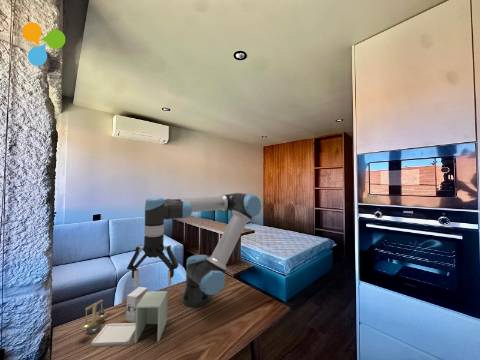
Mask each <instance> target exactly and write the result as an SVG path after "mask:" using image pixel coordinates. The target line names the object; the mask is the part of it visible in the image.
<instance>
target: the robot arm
mask: <svg viewBox="0 0 480 360" xmlns="http://www.w3.org/2000/svg"><path fill="white" fill-rule="evenodd" d="M144 203H145V204H144V205H145V206H144V230H143V231H144V235H145V236H144V237H143V246H142V245H141V244H140V245H138V246H136V248H135V252H134V254H133V256H132V258H131V259H130V261H129V264H128V266H127V267H126V270H131V278H132V279H133V288H137V286H138V285H139V280H140V279H139V278H140V277H139V275H140V269H139V268H138V267H140V265H141V264H142V263H143V262H144V260H145V259H146V258H149V259H151V258H155V259H157V258H159V259H160V260H161V261H162V262H163V263H164V265H165V266H166V267H167V268H168V270H167V287H169V288H170V287H171V284H172V278H173V277H174V275H175V270H177V269H178V268H179V263H178V260H177V259H176V257H175V254H174V252H173V250H172V245H171V244H170V245H167V246H166V245H164V240H165V239H164V236H165V235H164V233H165V232H164V230H165V229H164V226H165V221H166V220H176V219H177V220H178V219H186V218H190V217H191V215H192V213H199V212H208V211H220V210H221V211H222V212H227V211H228V212H231V213H232V216H231V218H230V220H229V221H228V224H227V226H226V227H225V228H224V230H223V233H222V235H221V237H220V238H219V241H218V242H217V245H216V246H215V248H214V250H213V252H212V254H211V255H210V256H208V255H206V254H196V255H191V256H189V257H187V259H186V266H185V267H186V270H185V273H186V274H185V277H186V278H185V286H184V290H183V292H182V298H181V299H182V300H181V302H182V303H183V305H185V306H188V307H190V308H191V307H192V308H197V307H202V306H204V305H207V304H208V303H209V302H210V300H211V296H214V295H216V294H218V293H220V292H221V291H222V289H223V288H224V286H225V284H226V275H225V274H226V272H227V270H228V269H227V267H226V266H227V263H228V261H229V259H230V256H231V255H232V252H233V251H234V249H235V247H236V245H237V243H238V241H239V239H240V237H241V235H242V233H243V231H244V229H245V227H246V224H247V223H249V222H251V221H252V220H253V218H254V217H256V216H258V215H260V212H261V210H262V202H261V199H260V198H259V197H258V195H255V194H252V193H241V192H235V193H229V194H221V196H209V197H207V196H206V197H191V198H175V199H172V198H163V197H148V198H147V199H145V202H144ZM142 251H143V252H144V255H142V256H141V258H140V259H139V260H138V261H137V259H138V257H139V256H140V253H141V252H142ZM163 251H164V252H166V254H167V255H168V256H166V254H165V253H164V252H163ZM136 261H137V262H136ZM135 262H136V264H135Z"/></svg>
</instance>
